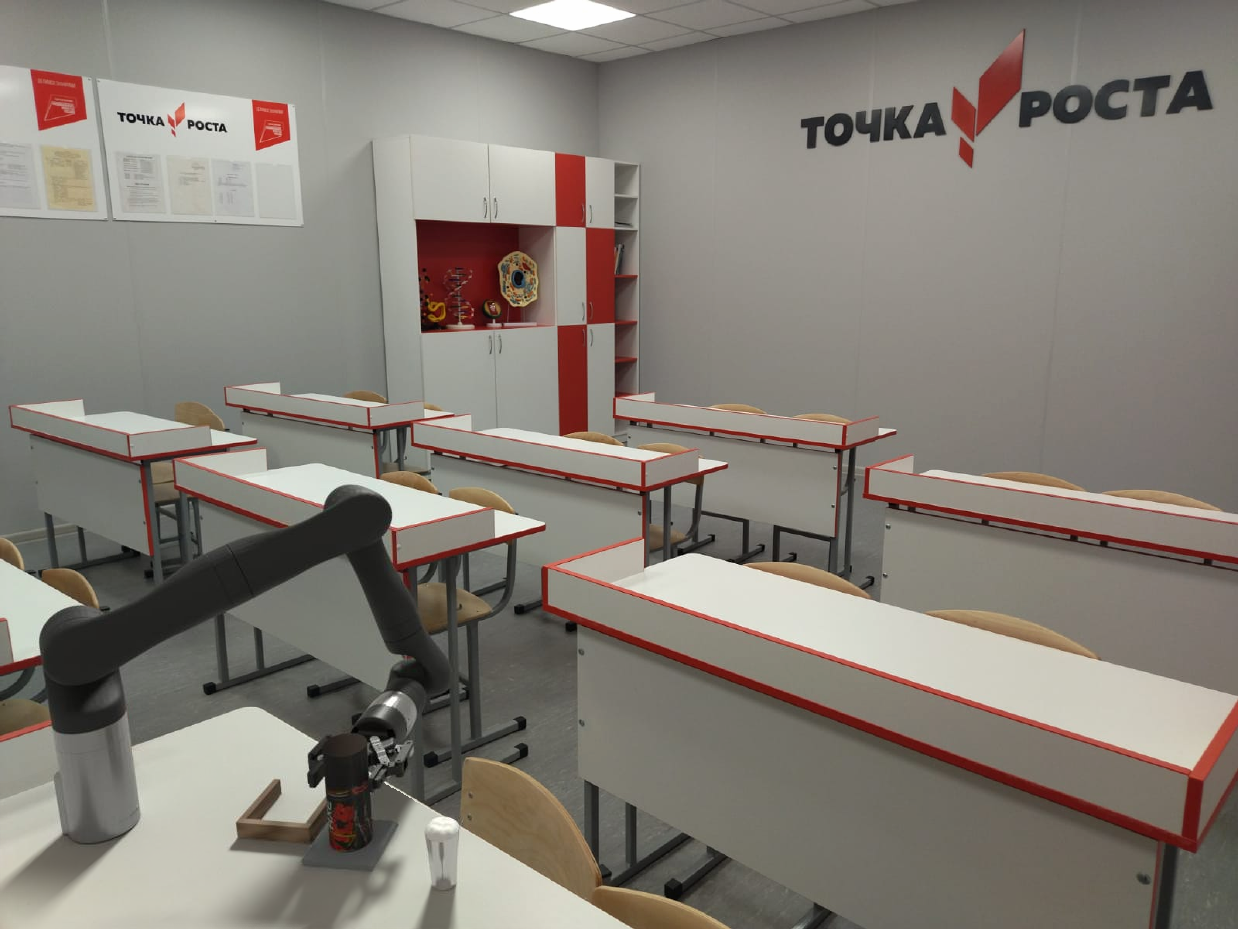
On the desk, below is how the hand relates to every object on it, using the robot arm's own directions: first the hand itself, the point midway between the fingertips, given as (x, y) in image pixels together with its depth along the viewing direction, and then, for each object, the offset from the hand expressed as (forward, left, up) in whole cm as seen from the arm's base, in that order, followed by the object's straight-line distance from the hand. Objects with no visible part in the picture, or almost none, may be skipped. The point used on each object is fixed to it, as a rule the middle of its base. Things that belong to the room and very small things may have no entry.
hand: (340, 784), depth 121 cm
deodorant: (0, +2, -10) cm, 10 cm away
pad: (0, +2, -11) cm, 11 cm away
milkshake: (+16, -4, -11) cm, 20 cm away
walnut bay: (-12, +7, -11) cm, 17 cm away
